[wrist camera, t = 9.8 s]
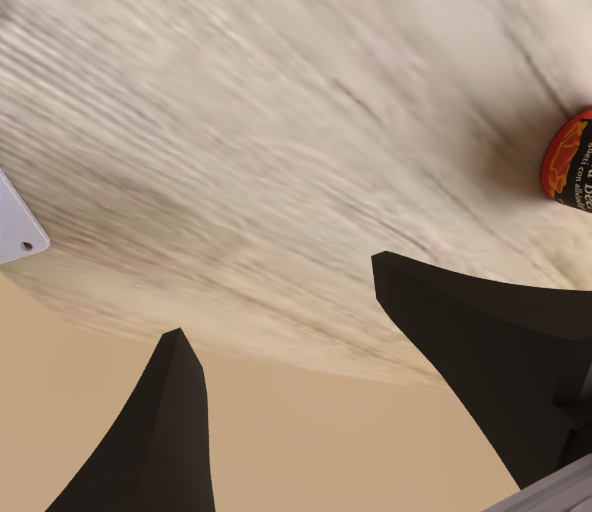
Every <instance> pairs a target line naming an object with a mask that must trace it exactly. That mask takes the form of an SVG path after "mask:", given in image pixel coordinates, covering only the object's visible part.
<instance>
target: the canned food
mask: <svg viewBox="0 0 592 512" xmlns="http://www.w3.org/2000/svg"><path fill="white" fill-rule="evenodd" d="M541 180H542V186H543V188H544V191H545V192H546V193H547V194H548V196H550V197H551V198H553V199H554V200H555V201H557V202H559V203H560V204H564V205H567V206H570V207H573V208H576V209H580V210H583V211H586V212H589V213H592V109H588V110H586V111H584V112H581V113H580V114H578V115H577V116H575V117H574V118H572V119H571V120H570V121H569V122H568V123H567V124H566V125H565V126H564V127H563V128H562V129H561V130H560V132H559V133H558V134H557V135H556V137H555V138H554V140H553V141H552V143H551V145H550V147H549V149H548V150H547V153H546V155H545V158H544V161H543V165H542V173H541Z"/></svg>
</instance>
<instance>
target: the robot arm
mask: <svg viewBox="0 0 592 512" xmlns="http://www.w3.org/2000/svg"><path fill="white" fill-rule="evenodd" d="M23 242H28V243H30V244H31V245H32V247H33V248H27V247H25V246H24V244H23ZM49 245H50V239H49V237H48V236H47V234H46V233H45V231H44V230H43V229H42V227H41V226H40V224H39V223H38V221H37V220H36V218H35V217H34V216H33V214H32V213H31V211H30V210H29V208H28V207H27V206H26V204H25V203H24V201H23V200H22V198H21V197H20V196H19V194H18V193H17V191H16V190H15V188H14V187H13V186H12V184H11V183H10V181H9V180H8V178H7V177H6V175H5V174H4V173H3V171H2V170H1V168H0V265H1V264H4V263H7V262H11V261H14V260H17V259H20V258H23V257H26V256H29V255H33V254H36V253H39V252H42V251H44V250H46V249H47V248H48V247H49ZM371 259H372V267H373V275H374V283H375V291H376V299H377V300H378V302H379V303H380V305H381V306H382V308H383V309H384V311H385V312H386V313H387V315H388V316H389V317H390V319H391V320H392V321H393V322H394V323H395V324H396V326H397V327H398V328H399V329H400V330H401V331H402V332H403V333H404V334H405V335H406V336H407V338H408V339H409V340H410V341H411V342H412V343H413V344H414V345H415V346H416V347H417V348H418V349H419V350H420V351H421V353H422V354H423V355H424V356H425V357H426V358H427V359H428V360H429V361H430V362H431V363H432V365H433V366H434V367H435V368H436V369H437V370H438V372H439V373H440V374H441V375H442V377H443V378H444V379H445V381H446V382H447V383H448V385H449V386H450V387H451V389H452V390H453V391H454V393H455V394H456V395H457V397H458V398H459V399H460V401H461V402H462V404H463V405H464V406H465V408H466V409H467V410H468V412H469V413H470V415H471V416H472V417H473V419H474V420H475V422H476V423H477V425H478V426H479V427H480V429H481V430H482V432H483V433H484V435H485V436H486V438H487V439H488V441H489V442H490V444H491V445H492V446H493V448H494V449H495V451H496V452H497V454H498V455H499V457H500V458H501V460H502V462H503V463H504V465H505V466H506V468H507V469H508V471H509V472H510V474H511V476H512V477H513V479H514V480H515V482H516V483H517V485H518V487H519V488H520V490H521V491H519V492H517V493H515V494H513V495H511V496H509V497H508V498H506V499H504V500H502V501H500V502H498V503H496V504H495V505H493V506H491V507H489V508H487V509H485V510H483V511H482V512H592V291H579V290H563V289H550V288H540V287H532V286H524V285H516V284H509V283H503V282H498V281H492V280H487V279H482V278H477V277H473V276H469V275H465V274H461V273H457V272H453V271H450V270H446V269H443V268H439V267H436V266H433V265H430V264H426V263H423V262H420V261H417V260H414V259H411V258H408V257H405V256H402V255H399V254H396V253H393V252H389V251H384V252H381V253H378V254H376V255H373V256H371ZM208 432H209V431H208V402H207V390H206V384H205V378H204V372H203V367H202V366H201V364H200V362H199V360H198V358H197V356H196V355H195V353H194V351H193V349H192V347H191V345H190V344H189V342H188V340H187V338H186V336H185V335H184V333H183V331H182V329H181V327H180V328H178V329H175V330H172V331H170V332H167V333H164V334H163V335H162V337H161V339H160V340H159V342H158V344H157V346H156V348H155V350H154V352H153V354H152V356H151V358H150V360H149V363H148V364H147V366H146V368H145V370H144V372H143V374H142V376H141V377H140V379H139V381H138V383H137V385H136V387H135V389H134V390H133V392H132V394H131V396H130V397H129V399H128V400H127V402H126V404H125V406H124V407H123V409H122V411H121V412H120V414H119V416H118V417H117V419H116V420H115V422H114V423H113V425H112V426H111V428H110V429H109V431H108V432H107V434H106V435H105V436H104V438H103V439H102V441H101V442H100V444H99V445H98V446H97V448H96V449H95V450H94V452H93V453H92V455H91V456H90V457H89V458H88V460H87V461H86V462H85V464H84V465H83V466H82V467H81V469H80V470H79V471H78V472H77V474H76V475H75V476H74V478H73V479H72V480H71V481H70V482H69V484H68V485H67V486H66V488H65V489H64V490H63V491H62V492H61V494H60V495H59V496H58V497H57V498H56V499H55V501H54V502H53V503H52V504H51V505H50V506H49V508H48V509H47V510H46V511H45V512H215V505H214V497H213V490H212V482H211V474H210V461H209V433H208Z"/></svg>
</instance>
